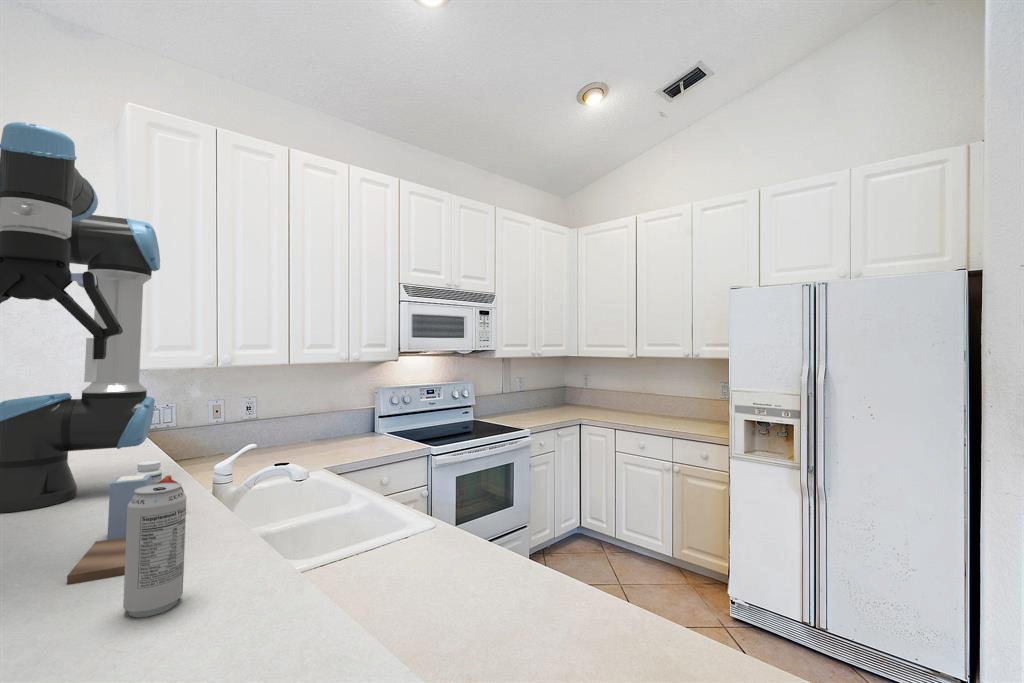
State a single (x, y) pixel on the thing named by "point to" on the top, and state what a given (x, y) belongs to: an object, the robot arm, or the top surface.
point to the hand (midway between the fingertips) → (27, 382)
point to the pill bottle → (150, 470)
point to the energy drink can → (154, 549)
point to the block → (122, 502)
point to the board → (100, 561)
